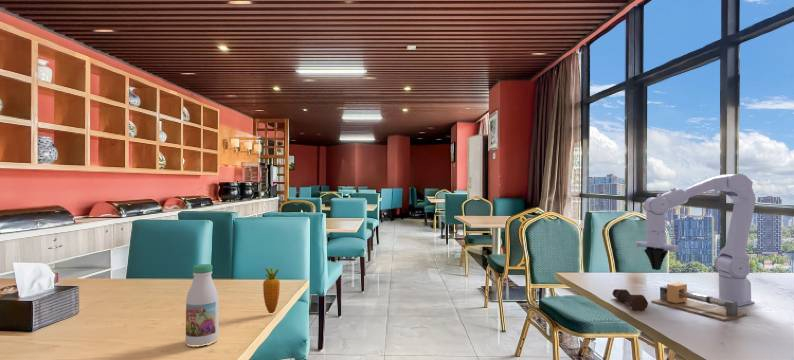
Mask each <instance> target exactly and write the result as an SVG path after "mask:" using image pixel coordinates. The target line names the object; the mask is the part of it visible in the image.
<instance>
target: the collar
mask: <svg viewBox="0 0 794 360" xmlns="http://www.w3.org/2000/svg"><path fill="white" fill-rule="evenodd" d="M666 286H667V301H669V302H673V303H680V302H685V301H687V300H688V298H685V297H681V296H679V290H681V291H686V292H688V283H687V284H686V283H683V282H682V283H681V282H673V283H667V284H666Z"/></svg>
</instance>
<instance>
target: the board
mask: <svg viewBox="0 0 794 360" xmlns="http://www.w3.org/2000/svg"><path fill="white" fill-rule="evenodd" d="M650 303H653V304H656V305H660V306H664V307H667V308H668V307H669V308H672V309H676V310H679V311H683V312H688V313H691V314H695V315H699V316H703V317H706V318H710V319H714V320H718V321H722V322H727V321H731V320H735V319H739V318H743V317H746V316H748V315H747V314H748V313H746V312H742V311H738V316H734V317H731V316H727V315H726V308H725V307H721V306H716V305H713V304H708V303H703V302H699V301H695V300H691V299H690V300H689V299H687V301H685V302H680V303H673V302H669V301H667V300H662V299H660V298H658V299H653V300H651V301H650Z"/></svg>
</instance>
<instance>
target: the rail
mask: <svg viewBox="0 0 794 360" xmlns="http://www.w3.org/2000/svg"><path fill="white" fill-rule="evenodd" d="M659 296H660V297H659V299H662V300H667V285H666V286H665V285H664V286H660V287H659ZM679 296H681V297H685V298H687V299H688V300H689V299H690V300H693V301H697V302H699V301H700V302H701V303H703V302H704V303H706V304H708V305H714V306H716V305H717V306H719V307H723V308H725V309H726V315H727V316H731V317H734V316H738V312H739V310H738V309H739V306H738V302H737V301H732V300H731V301H727V300H722V299H718V298H719V297H713V296H710V295H705V294H699V293H695V292H694V293H693V292H689V291H687V292H686V291H681V290H679Z"/></svg>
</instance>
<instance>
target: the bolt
mask: <svg viewBox="0 0 794 360" xmlns="http://www.w3.org/2000/svg"><path fill="white" fill-rule="evenodd" d="M612 296H613V297H614V298H615V299H616V300H617V301H618V302H619V303H622V304H628V305H629V307H630V308H631V310H632V311H633V312H645V311H646V310H647V308H648V306H649V303H648V300H647V299H646V296H644V295H643V294H631V293H630V291H628V289H624V288H622V289H617V288H616V289H613V290H612Z"/></svg>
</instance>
